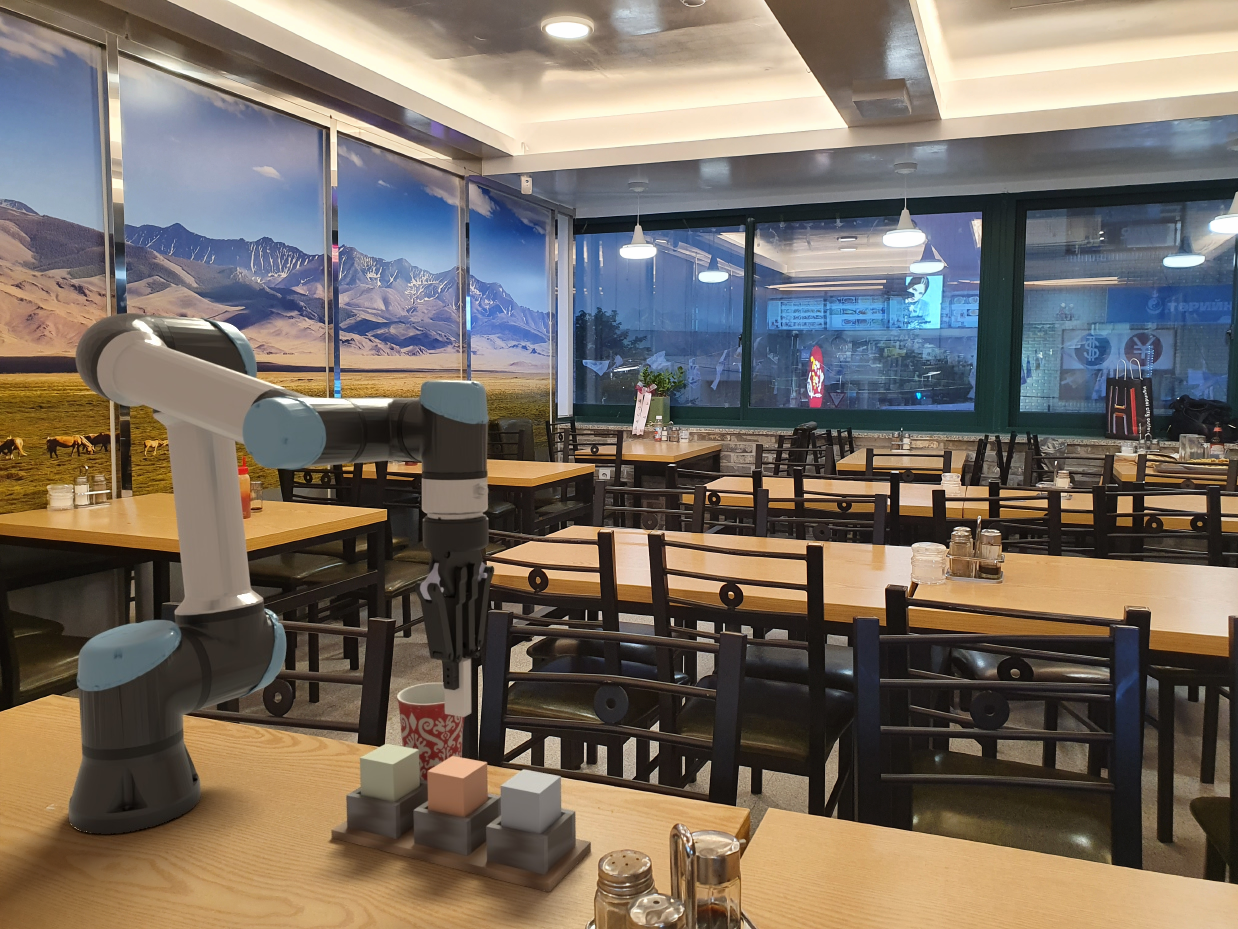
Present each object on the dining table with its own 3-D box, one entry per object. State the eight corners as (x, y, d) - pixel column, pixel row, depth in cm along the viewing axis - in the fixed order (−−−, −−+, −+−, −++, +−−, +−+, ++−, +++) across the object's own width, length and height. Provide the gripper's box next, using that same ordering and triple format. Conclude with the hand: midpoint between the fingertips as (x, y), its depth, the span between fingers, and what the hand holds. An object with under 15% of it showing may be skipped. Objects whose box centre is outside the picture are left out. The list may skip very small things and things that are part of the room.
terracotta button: (428, 821, 106) (427, 771, 106) (453, 803, 111) (452, 756, 110) (464, 829, 104) (463, 778, 104) (488, 811, 109) (487, 762, 108)
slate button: (501, 837, 102) (500, 785, 102) (524, 819, 107) (523, 769, 106) (540, 846, 100) (539, 793, 100) (561, 827, 105) (560, 776, 104)
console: (331, 837, 110) (330, 797, 109) (385, 804, 119) (384, 767, 118) (549, 892, 97) (548, 847, 97) (590, 850, 106) (590, 808, 106)
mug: (444, 809, 117) (442, 707, 116) (385, 798, 120) (383, 699, 119) (492, 771, 129) (490, 678, 128) (437, 763, 132) (435, 672, 131)
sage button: (361, 805, 111) (359, 757, 110) (387, 789, 115) (386, 743, 115) (394, 813, 108) (392, 764, 108) (419, 796, 113) (418, 749, 113)
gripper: (449, 523, 98) (452, 737, 99) (512, 509, 109) (514, 701, 111) (393, 519, 101) (396, 726, 102) (460, 506, 112) (463, 692, 114)
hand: (458, 713), depth 107 cm, fingers closed
